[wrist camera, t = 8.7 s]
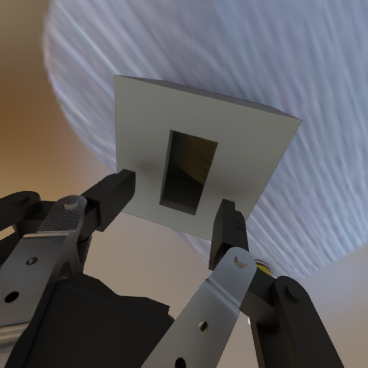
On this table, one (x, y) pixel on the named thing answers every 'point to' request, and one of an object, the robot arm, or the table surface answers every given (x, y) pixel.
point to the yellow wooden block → (197, 157)
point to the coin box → (174, 145)
